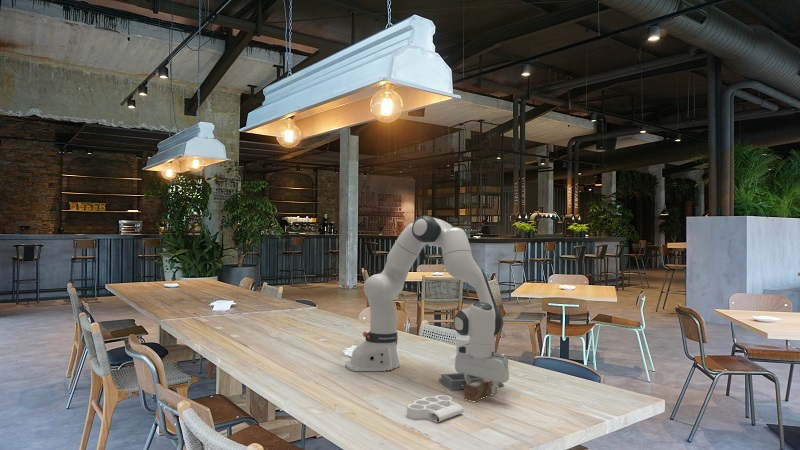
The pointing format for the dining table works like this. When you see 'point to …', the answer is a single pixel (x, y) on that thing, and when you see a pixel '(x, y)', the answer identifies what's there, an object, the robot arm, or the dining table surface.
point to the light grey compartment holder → (434, 408)
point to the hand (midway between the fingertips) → (480, 390)
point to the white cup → (461, 341)
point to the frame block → (477, 389)
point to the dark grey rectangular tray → (458, 380)
